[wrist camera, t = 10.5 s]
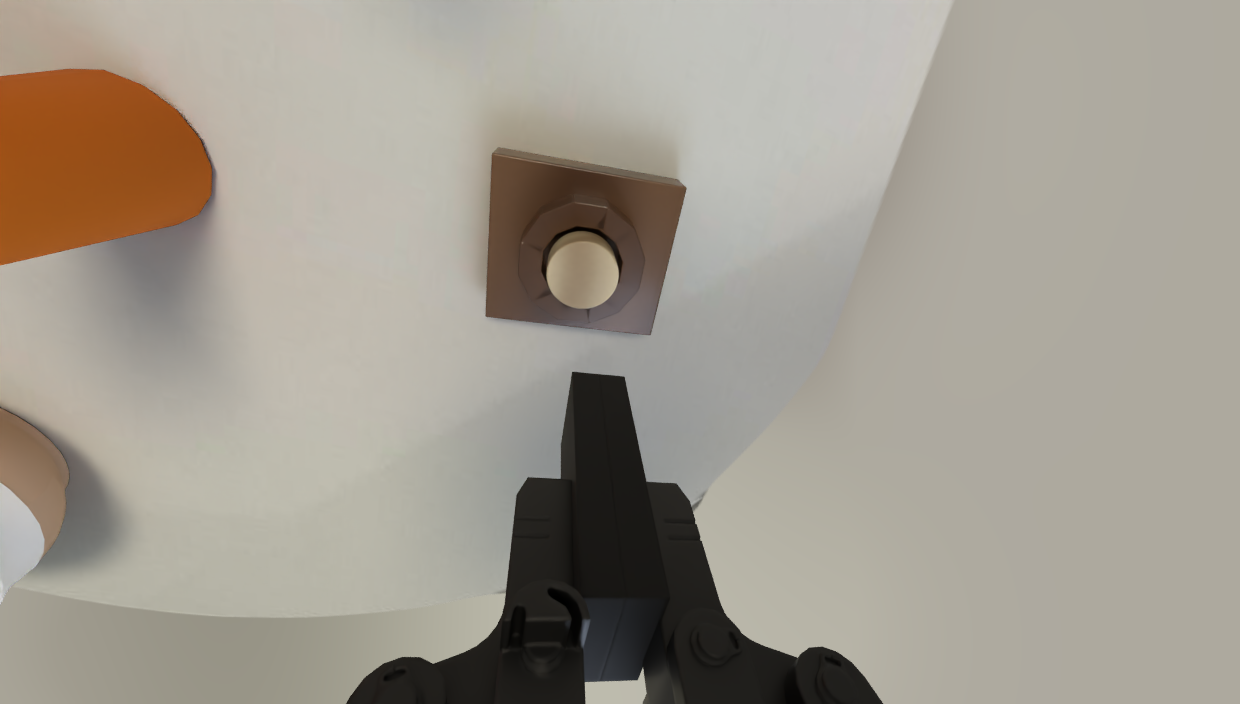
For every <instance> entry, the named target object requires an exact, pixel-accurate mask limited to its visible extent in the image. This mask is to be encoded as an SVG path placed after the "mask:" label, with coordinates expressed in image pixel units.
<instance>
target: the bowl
mask: <svg viewBox="0 0 1240 704" xmlns="http://www.w3.org/2000/svg"><path fill="white" fill-rule="evenodd" d="M68 482H69V470H68V467H67V463H66V461H65V459H64V458H63V456H62V454H61V453H60V451H59V450H58V449H57V448H56V447H55V445H54V444H53V443H52V442H51V441H50V440H49V439H48V438H47V437H45V436H44V435H43V434H42V433H41V432H39V431H38V430H37V429H36V428H34V427H33V426H31V425H30V424H28V423H27V422H25V421H24V420H22V419H21V418H19V417H17V416H15V415H13V414H11V413H9V412H7V411H5V410H3V409H1V408H0V604H1V603H2V601H3V598H4V596H5V594H6V593H7V591H8V590H9V588H10V587H11V586H12V585H13V584H15V583H16V582H17V581H18V580H20V579H21V578H22V577H23V576H24V575H26V574H27V573H28V572H29V571H31V570H32V569H33V568H34V567H35V566H37V564H38V562H39V561H40V560H41V558H42V557H43V556H44V555H45V554H46V552H47V551H48V550H49V549H50V548H51V546H52V545H53V544H54V542H55V540H56V538H57V537H58V535H59V533H60V529H61V526H62V523H63V520H64V517H65V510H66V498H65V489H66V487H67V485H68Z"/></svg>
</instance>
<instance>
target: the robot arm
mask: <svg viewBox="0 0 1240 704" xmlns="http://www.w3.org/2000/svg"><path fill="white" fill-rule="evenodd" d="M642 668H643V669H644V676H645V683H646V691H647V694H646V697H645V699H644V701H643V704H883V703H882V701H881V700H880V699H879V697H878V696H877V694H876V693H875V691H874V690H873V689H872V687H871V686H870V684H869V683H868V681H867V680H866V678H865V677H864V676H863V675H862V674H861V672H860V671H859V670H858V669H857V668H856V667H855V666H854V664H853V663H852V662H850V661H849V660H848V659H846V658H845V657H843V656H842V655H841V654H839V653H837V652H836V651H833V650H830V649H827V648H824V647H813V648H808V649H807V650H806V651H804V652H803V653H802V654H800V656H799V657H798V658H797V657H794V656H791V655H788V654H785V653H782V652H780V651H777V650H774V649H771V648H768V647H765V646H763V645H760V644H758V643H756V642H754V641H752V640H750V639H749V638H747V637H746V636H744V635H743V634H742V633H741V632H740V630H739V629H738V628H737V627H736V625H735V624H734V623H733V622H732V621H731V620H730V619H729V618H728V617H727V616H726V614H725V613H724V610H723V608H722V606H721V603H720V601H719V597H718V594H717V591H716V587H715V584H714V581H713V577H712V574H711V571H710V568H709V564H708V561H707V558H706V554H705V551H704V547H703V544H702V541H700V534H699V531H698V527H697V525H696V524H695V518H694V514H693V511H692V508H691V504H690V501H689V500H688V498H687V497H686V496H685V494H684V493H683V492H682V490H681V489H680V488H679V486H678V485H677V484H676V483H656V482H646V478H645V473H644V469H643V464H642V459H641V454H640V449H639V445H638V440H637V435H636V430H635V425H634V421H633V416H632V411H631V406H630V401H629V397H628V392H627V387H626V382H625V377H622V376H611V375H601V374H590V373H579V372H572V377H571V384H570V390H569V397H568V403H567V410H566V416H565V422H564V429H563V435H562V442H561V479H550V478H529V477H528V478H527V480H526V481H525V483H524V484H523V486H522V487H521V489H520V490H519V492H518V494H517V497H516V506H515V515H514V524H513V534H512V543H511V552H510V561H509V570H508V579H507V589H506V598H505V605H504V609H503V614H502V616H501V618H500V620H499V622H498V625H497V626H496V628H495V629H494V630H493V631H492V633H491V634H490V635H489V636H488V637H487V638H486V639H485V640H484V641H482V642H481V643H480V644H479V645H477V646H476V647H474V648H472V649H470V650H468V651H466V652H464V653H461V654H459V655H456V656H453V657H451V658H448V659H445V660H443V661H440V662H437V663H435V664H432V663H430V662H428V661H426V660H424V659H422V658H420V657H401V658H398V659H396V660H393V661H390V662H387V663H384V664H382V665H381V666H380V667H379V668H377V669H376V670H374V671H373V672H372V673H370V674H369V675H368V676H366V677H365V678H364V679H363V681H362V682H361V683H360V685H359V686H358V687H357V688H356V690H355V691H354V692H353V694H352V695H351V696H350V698H349V700H348V701H347V703H346V704H585V682H597V681H624V680H626V681H627V680H638V678H639V675H640V673H641V670H642Z"/></svg>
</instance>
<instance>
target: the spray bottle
mask: <svg viewBox="0 0 1240 704" xmlns="http://www.w3.org/2000/svg"><path fill="white" fill-rule="evenodd" d="M211 188H212V167H211V165H210V163H209V160H208V158H207V155H206V153H205V150H204V148H203V145H202V143H201V140H200V138H199V137H198V136H197V135H196V133H195V132H194V131H193V130H192V129H191V127H190V126H189V125H188V124H187V122H186V121H185V120H184V119H183V117H182V116H181V115H180V114H179V112H178V111H177V110H176V109H175V108H173V107H172V106H170V105H169V104H168V103H166V102H165V101H164V100H162V99H161V98H160V97H158V96H157V95H156V94H154V93H153V92H151V91H150V90H149V89H147V88H146V87H145V86H143V85H141V84H139V83H136V82H133V81H131V80H128V79H126V78H123V77H121V76H118V75H115V74H113V73H110V72H108V71H105V70H89V69H63V70H54V71H45V72H35V73H26V74H17V75H7V76H0V265H4V264H9V263H13V262H17V261H22V260H26V259H30V258H35V257H39V256H43V255H48V254H52V253H56V252H61V251H65V250H69V249H74V248H78V247H82V246H87V245H91V244H96V243H100V242H104V241H109V240H113V239H117V238H122V237H126V236H130V235H135V234H139V233H143V232H148V231H152V230H156V229H161V228H165V227H169V226H174V225H177V224H179V223H182V222H184V221H186V220H188V219H190V218H192V217H195V216H197V215H199V213H200V211H201V210H202V208H203V207H204V205H205V204H206V202H207V200H208V199H209V197H210V196H211Z"/></svg>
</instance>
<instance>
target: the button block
mask: <svg viewBox="0 0 1240 704" xmlns="http://www.w3.org/2000/svg"><path fill="white" fill-rule="evenodd" d="M685 193H686V187H685V186H684V185H683V184H682V183H681V182H680V181H679V180H677V179H672V178H667V177H661V176H655V175H650V174H644V173H639V172H633V171H628V170H622V169H616V168H611V167H605V166H600V165H594V164H589V163H583V162H577V161H572V160H566V159H561V158H555V157H550V156H544V155H538V154H533V153H527V152H522V151H516V150H511V149H505V148H497V149H496V150H495V151H494V152H493V153H492V166H491V191H490V216H489V241H488V266H487V291H486V317H493V318H502V319H511V320H519V321H528V322H537V323H546V324H555V325H564V326H572V327H581V328H590V329H599V330H608V331H617V332H625V333H634V334H643V335H651V331H652V327H653V323H654V319H655V315H656V311H657V307H658V303H659V299H660V294H661V290H662V286H663V282H664V278H665V274H666V270H667V266H668V262H669V258H670V254H671V250H672V246H673V241H674V237H675V233H676V229H677V225H678V221H679V217H680V213H681V209H682V205H683V201H684V197H685ZM576 231H587V232H592V233H594V234H597V235H599V236H600V237H602V238H603V239H604V240H606V241H607V242H608V244H609V245H610V246H611V248H612V250H613V252H614V255H615V258H616V262H617V265H618V270H619V279H618V284H617V287H616V289H615V291H614V293H613V294H612V295H611V296H610V297H609V298H608V300H606V301H605V302H604V303H602V304H600V305H598V306H596V307H593V308H588V309H578V308H573V307H570V306H567V305H565V304H563V303H562V302H560V301H559V300H558V299H557V298H556V297H555V296H554V295H553V294H552V292H551V290H550V288H549V286H548V283H547V277H546V272H547V261H548V255H549V252H550V250H551V248H552V247H553V245H554V244H555V243H556V241H557V240H559V239H560V238H561V237H563V236H564V235H566V234H568V233H572V232H576Z"/></svg>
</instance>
